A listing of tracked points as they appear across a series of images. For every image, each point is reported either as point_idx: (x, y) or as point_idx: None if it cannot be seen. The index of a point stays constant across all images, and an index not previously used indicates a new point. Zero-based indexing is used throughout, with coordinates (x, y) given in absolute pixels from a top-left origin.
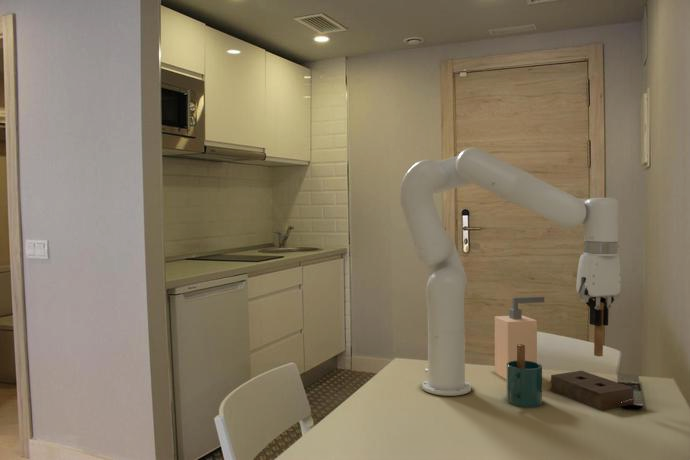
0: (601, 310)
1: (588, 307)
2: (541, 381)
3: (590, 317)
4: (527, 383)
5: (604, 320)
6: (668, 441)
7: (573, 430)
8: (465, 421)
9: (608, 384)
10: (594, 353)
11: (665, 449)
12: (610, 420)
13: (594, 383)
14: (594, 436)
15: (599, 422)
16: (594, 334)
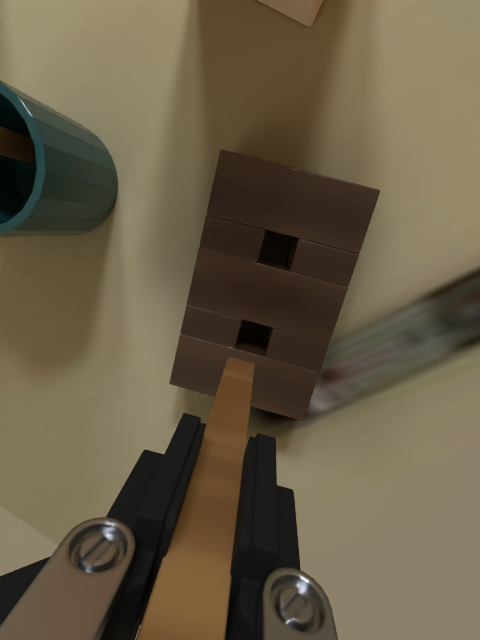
0: (135, 632)
1: (88, 526)
2: (46, 231)
3: (135, 470)
4: None
5: None
6: None
7: (12, 390)
8: None
9: (277, 354)
10: (227, 361)
11: None
12: (138, 412)
13: (250, 319)
14: (24, 434)
15: (104, 402)
16: (212, 405)
